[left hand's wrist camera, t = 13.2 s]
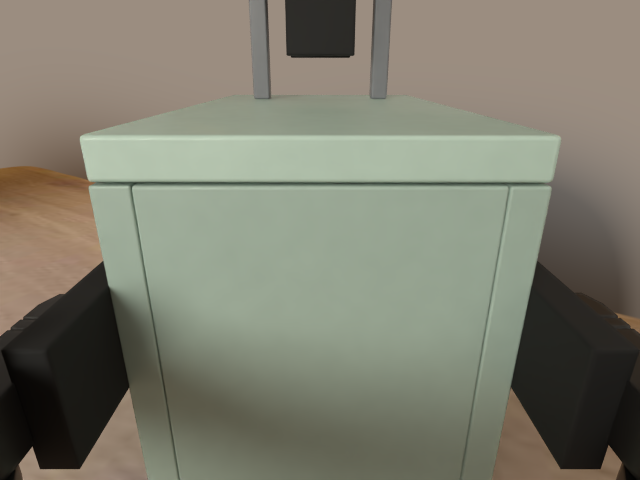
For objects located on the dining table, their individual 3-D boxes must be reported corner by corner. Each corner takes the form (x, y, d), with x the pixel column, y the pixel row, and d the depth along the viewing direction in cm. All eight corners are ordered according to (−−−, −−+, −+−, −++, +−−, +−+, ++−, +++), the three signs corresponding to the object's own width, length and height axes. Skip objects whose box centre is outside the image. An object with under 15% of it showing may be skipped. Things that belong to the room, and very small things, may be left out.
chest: (244, 287, 26) (231, 115, 22) (395, 287, 26) (408, 116, 22) (158, 532, 12) (86, 186, 8) (481, 532, 12) (553, 186, 8)
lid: (234, 113, 23) (221, -71, 20) (406, 113, 23) (420, -71, 20) (86, 183, 8) (-46, -456, 5) (554, 184, 8) (688, -454, 5)
